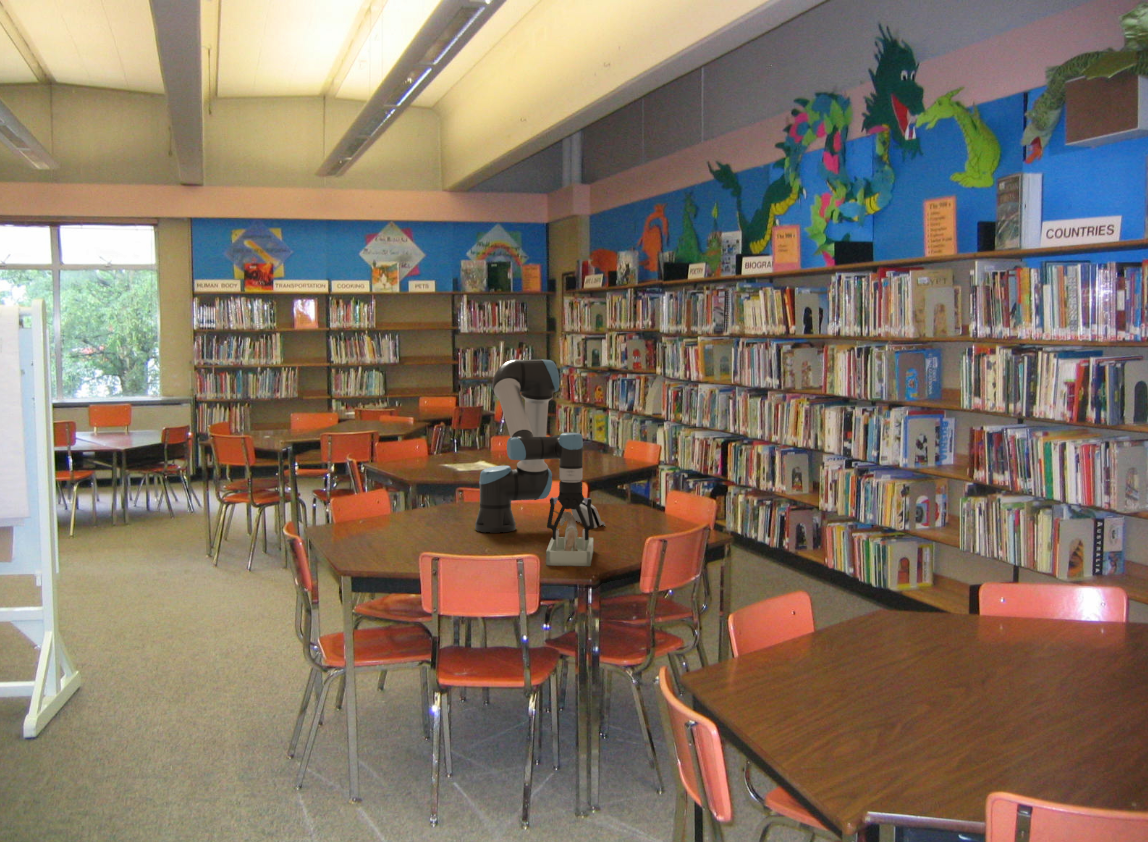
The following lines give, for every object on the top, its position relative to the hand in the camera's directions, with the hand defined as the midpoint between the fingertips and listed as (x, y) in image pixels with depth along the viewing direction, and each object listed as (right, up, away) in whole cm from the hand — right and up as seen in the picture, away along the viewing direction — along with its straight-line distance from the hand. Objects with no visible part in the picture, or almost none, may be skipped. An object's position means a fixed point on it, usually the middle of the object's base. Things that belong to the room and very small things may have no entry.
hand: (570, 549), depth 317 cm
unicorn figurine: (-3, -2, 0) cm, 3 cm away
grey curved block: (+6, +2, +57) cm, 58 cm away
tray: (0, -3, 0) cm, 3 cm away
